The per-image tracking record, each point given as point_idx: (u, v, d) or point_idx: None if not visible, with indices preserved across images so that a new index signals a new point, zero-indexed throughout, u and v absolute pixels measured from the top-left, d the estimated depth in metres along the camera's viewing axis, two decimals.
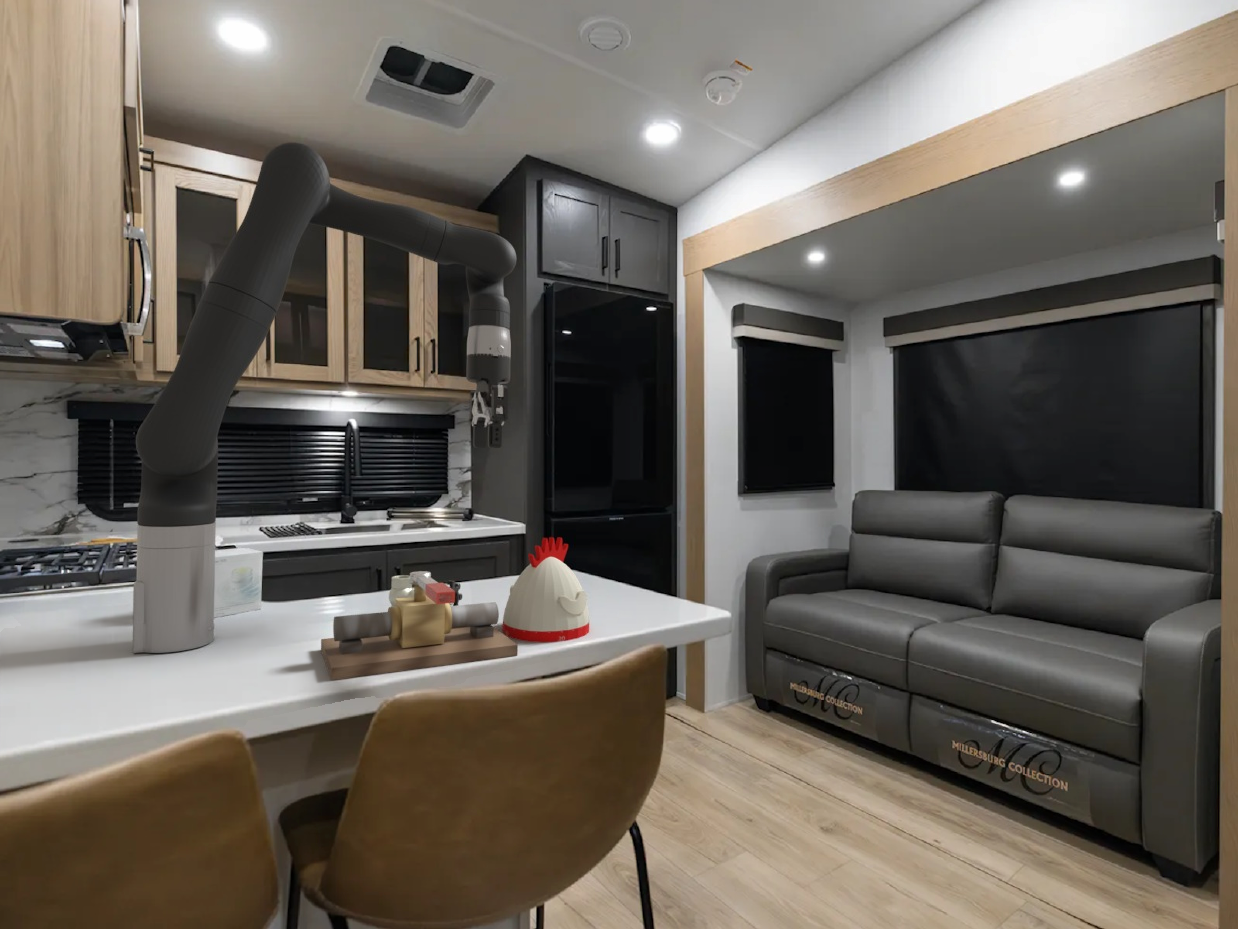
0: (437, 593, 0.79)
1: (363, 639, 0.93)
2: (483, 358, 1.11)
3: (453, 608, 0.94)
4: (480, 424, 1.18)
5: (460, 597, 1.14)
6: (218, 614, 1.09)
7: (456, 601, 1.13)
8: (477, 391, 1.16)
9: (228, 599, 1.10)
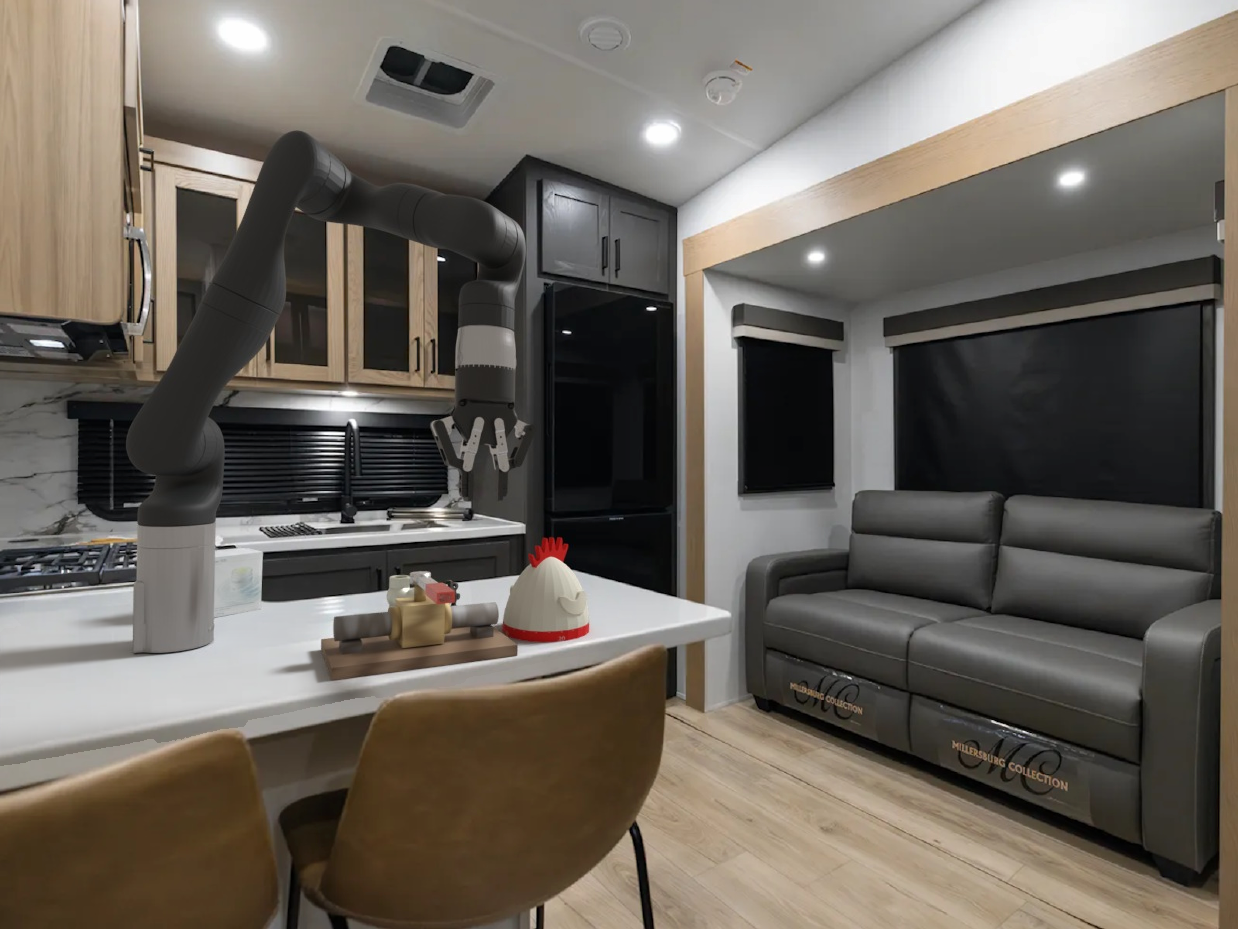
0: (437, 593, 0.79)
1: (363, 639, 0.93)
2: None
3: (453, 608, 0.94)
4: (497, 468, 0.85)
5: (458, 597, 1.14)
6: (218, 614, 1.09)
7: None
8: None
9: (228, 599, 1.10)
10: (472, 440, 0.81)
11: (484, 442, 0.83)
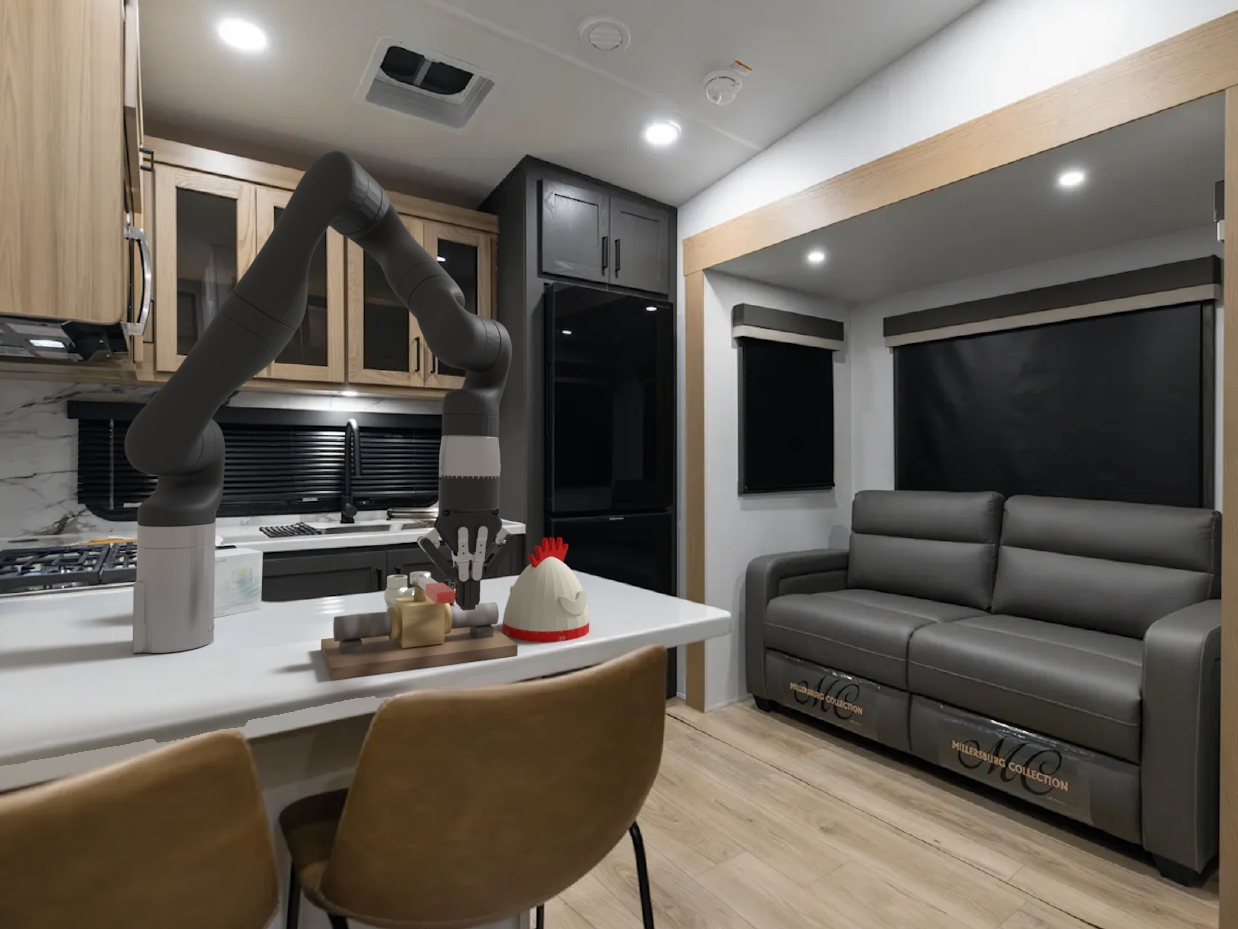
0: (437, 593, 0.79)
1: (363, 639, 0.93)
2: None
3: (453, 608, 0.94)
4: (469, 575, 0.83)
5: None
6: (218, 614, 1.09)
7: None
8: None
9: (228, 599, 1.10)
10: (461, 551, 0.81)
11: (468, 550, 0.82)
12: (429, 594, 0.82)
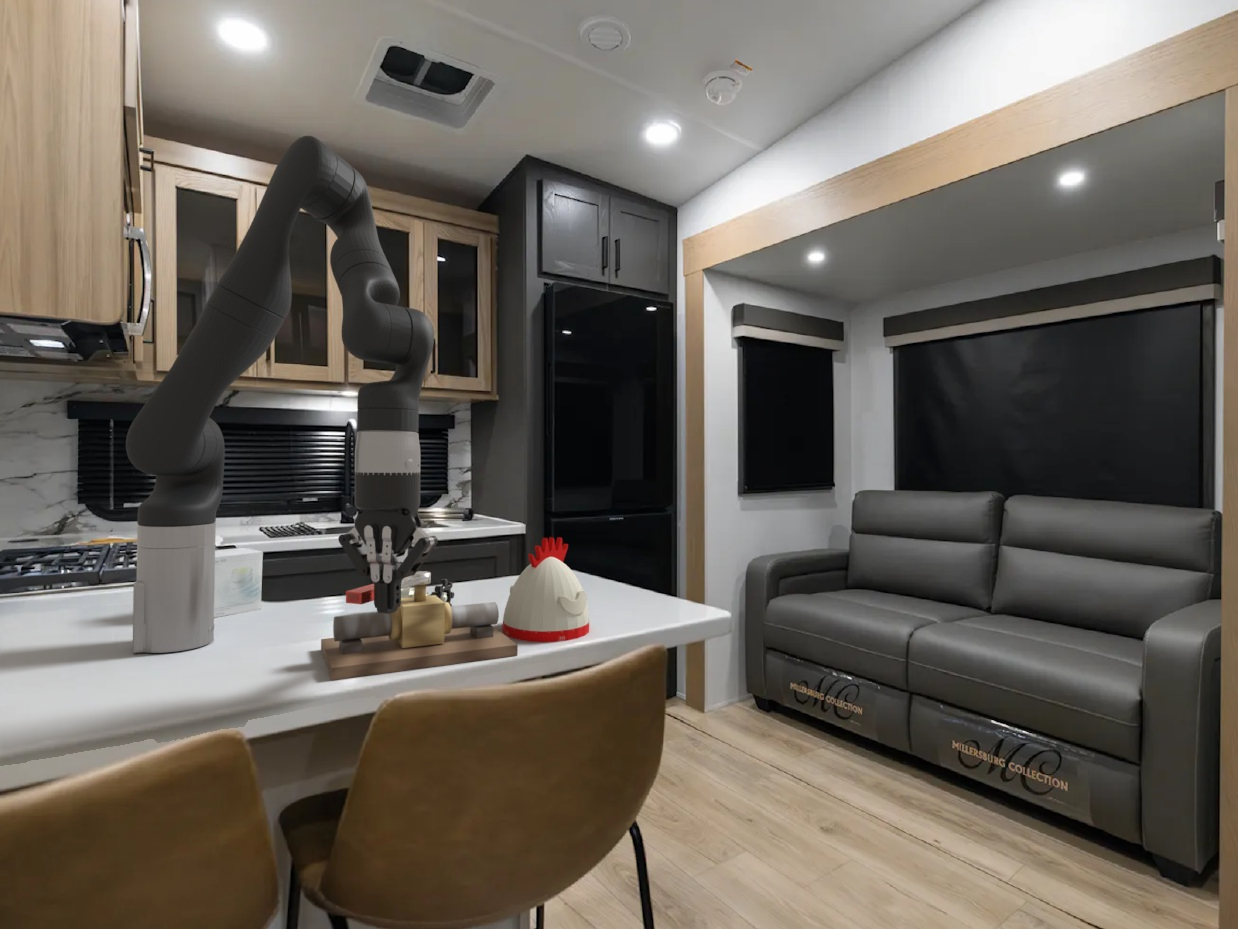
0: (347, 592, 0.79)
1: (363, 639, 0.93)
2: None
3: (453, 608, 0.94)
4: None
5: (452, 595, 1.15)
6: (218, 614, 1.09)
7: (448, 599, 1.14)
8: None
9: (228, 599, 1.10)
10: (369, 550, 0.78)
11: (380, 550, 0.79)
12: None
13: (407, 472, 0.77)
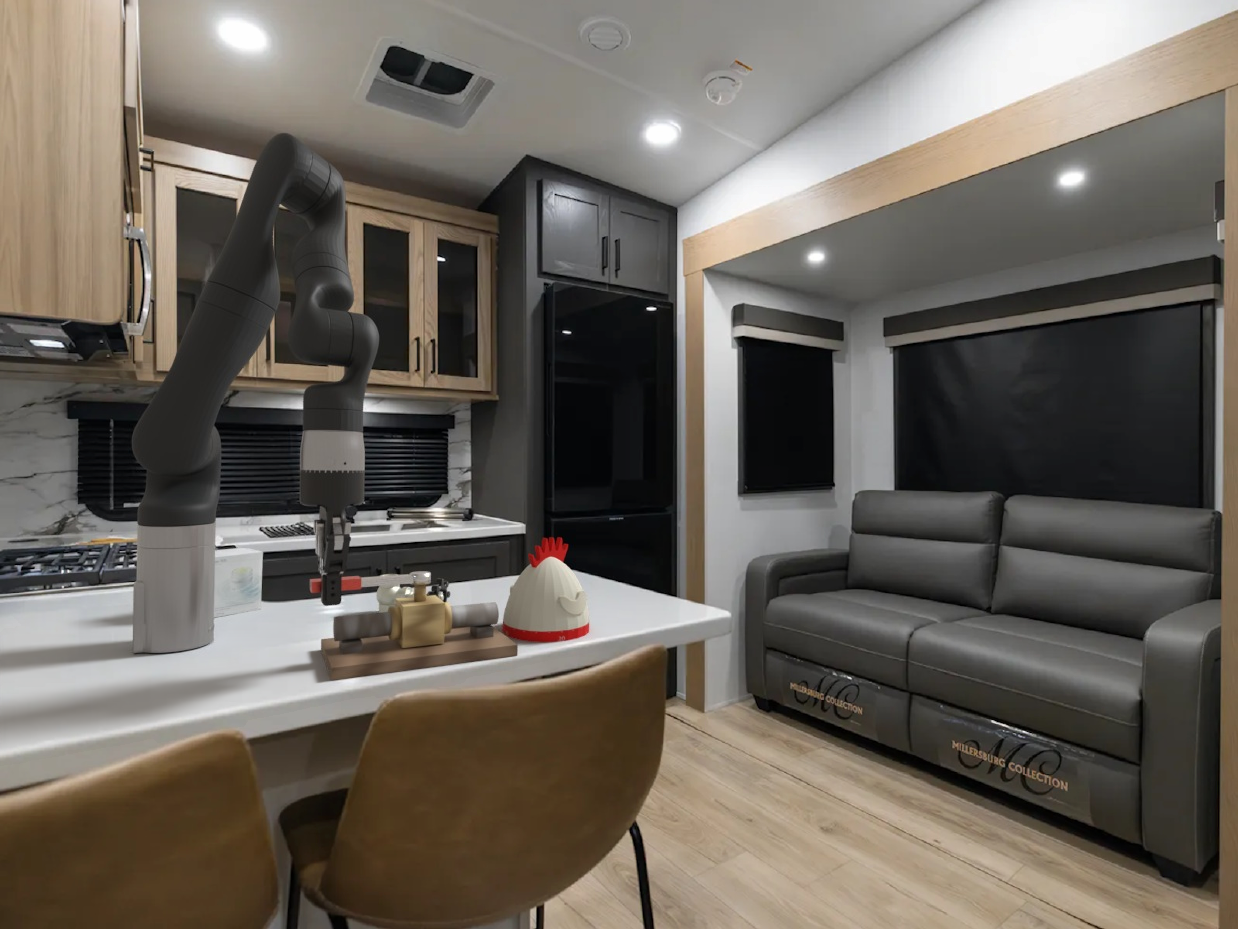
0: (310, 580, 0.86)
1: (363, 639, 0.93)
2: None
3: (453, 608, 0.94)
4: None
5: (448, 595, 1.16)
6: (218, 614, 1.09)
7: (445, 599, 1.15)
8: None
9: (228, 599, 1.10)
10: (316, 543, 0.83)
11: (322, 544, 0.83)
12: None
13: (326, 470, 0.79)
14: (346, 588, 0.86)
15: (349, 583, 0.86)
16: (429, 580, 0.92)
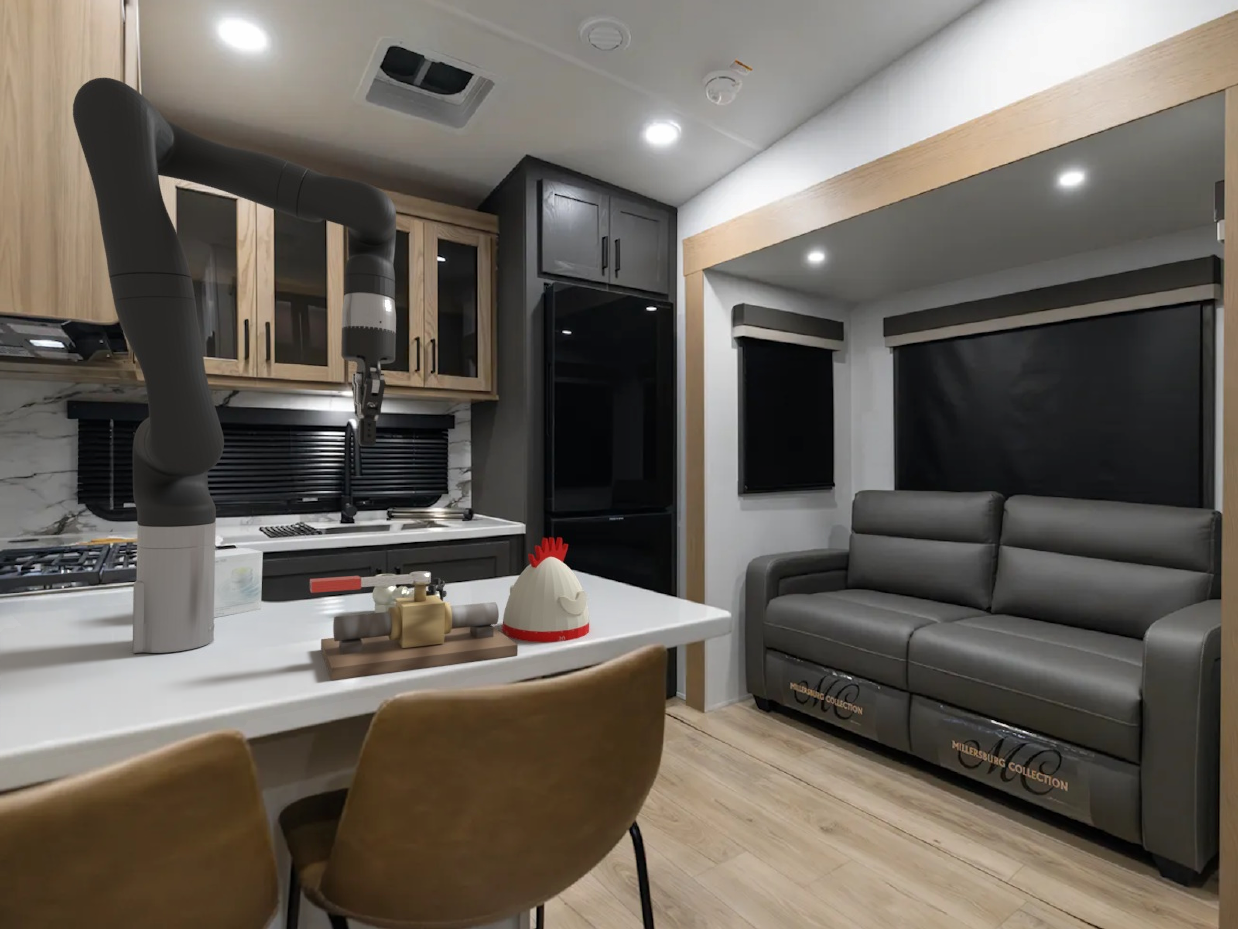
0: (310, 579, 0.86)
1: (363, 639, 0.93)
2: None
3: (453, 608, 0.94)
4: None
5: (444, 594, 1.16)
6: (218, 614, 1.09)
7: (441, 598, 1.15)
8: None
9: (228, 599, 1.10)
10: (354, 394, 0.98)
11: None
12: None
13: (364, 326, 0.94)
14: (346, 588, 0.86)
15: (349, 583, 0.86)
16: (429, 580, 0.92)
